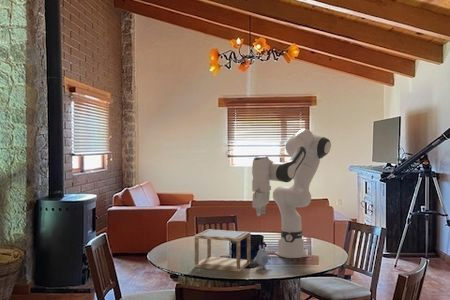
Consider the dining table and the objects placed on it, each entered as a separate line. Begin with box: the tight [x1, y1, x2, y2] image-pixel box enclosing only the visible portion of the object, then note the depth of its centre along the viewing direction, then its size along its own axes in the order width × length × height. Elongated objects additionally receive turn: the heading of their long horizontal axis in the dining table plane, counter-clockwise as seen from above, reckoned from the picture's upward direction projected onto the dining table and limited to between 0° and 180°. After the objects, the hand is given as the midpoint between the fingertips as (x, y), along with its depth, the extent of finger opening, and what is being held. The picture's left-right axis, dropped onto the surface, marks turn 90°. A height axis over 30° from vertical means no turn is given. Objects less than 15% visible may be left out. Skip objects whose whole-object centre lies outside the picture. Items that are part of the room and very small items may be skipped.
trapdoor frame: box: [194, 228, 251, 273], centre depth 243 cm, size 24×18×16 cm
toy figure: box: [252, 244, 272, 270], centre depth 236 cm, size 11×6×12 cm, turn 120°
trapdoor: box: [200, 229, 246, 245], centre depth 243 cm, size 20×14×3 cm
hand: (260, 215), depth 236 cm, fingers open, 7 cm apart
